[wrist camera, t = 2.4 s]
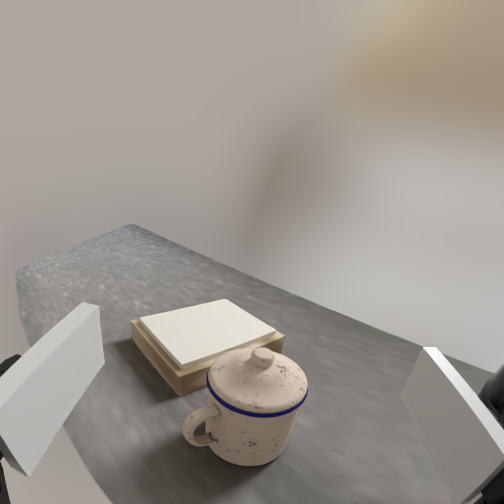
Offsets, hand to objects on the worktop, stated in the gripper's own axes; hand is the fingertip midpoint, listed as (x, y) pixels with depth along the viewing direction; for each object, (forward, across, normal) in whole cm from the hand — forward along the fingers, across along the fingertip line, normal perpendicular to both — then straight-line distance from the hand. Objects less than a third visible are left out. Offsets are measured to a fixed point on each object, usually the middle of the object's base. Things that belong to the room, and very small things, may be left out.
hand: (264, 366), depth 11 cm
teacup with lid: (+11, 0, -19) cm, 22 cm away
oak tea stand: (+28, -5, -19) cm, 34 cm away
